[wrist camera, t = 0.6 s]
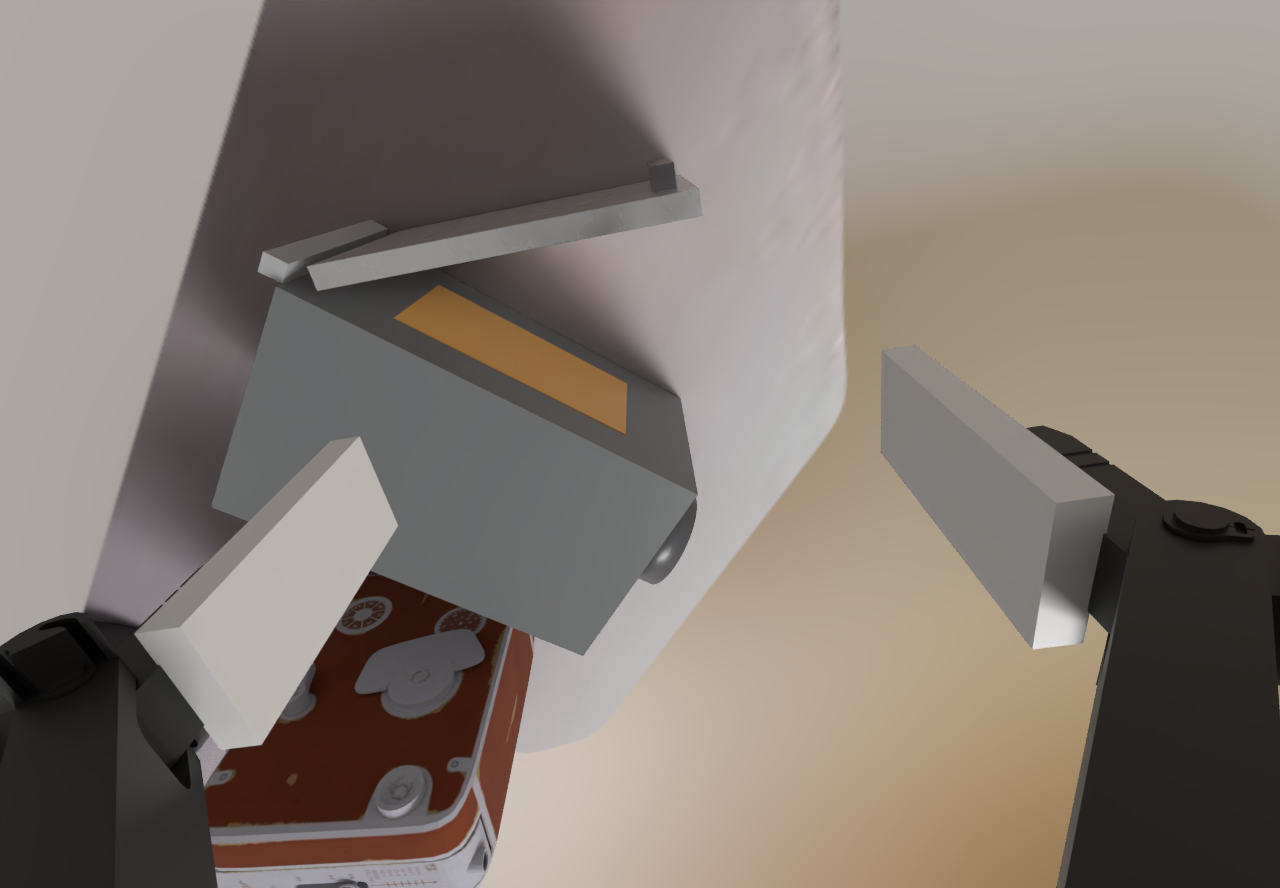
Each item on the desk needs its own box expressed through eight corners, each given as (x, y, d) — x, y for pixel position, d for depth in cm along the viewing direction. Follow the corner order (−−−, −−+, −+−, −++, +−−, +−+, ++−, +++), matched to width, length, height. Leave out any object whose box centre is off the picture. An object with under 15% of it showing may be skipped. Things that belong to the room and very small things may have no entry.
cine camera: (270, 563, 45) (32, 839, 27) (526, 547, 45) (454, 817, 27) (309, 653, 49) (124, 944, 32) (544, 639, 49) (492, 926, 31)
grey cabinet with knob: (627, 545, 45) (625, 684, 33) (310, 400, 39) (177, 507, 28) (722, 406, 40) (757, 513, 28) (374, 218, 34) (244, 257, 23)
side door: (682, 193, 33) (702, 215, 24) (407, 248, 35) (317, 291, 25) (676, 154, 32) (695, 160, 23) (394, 212, 34) (296, 241, 24)
